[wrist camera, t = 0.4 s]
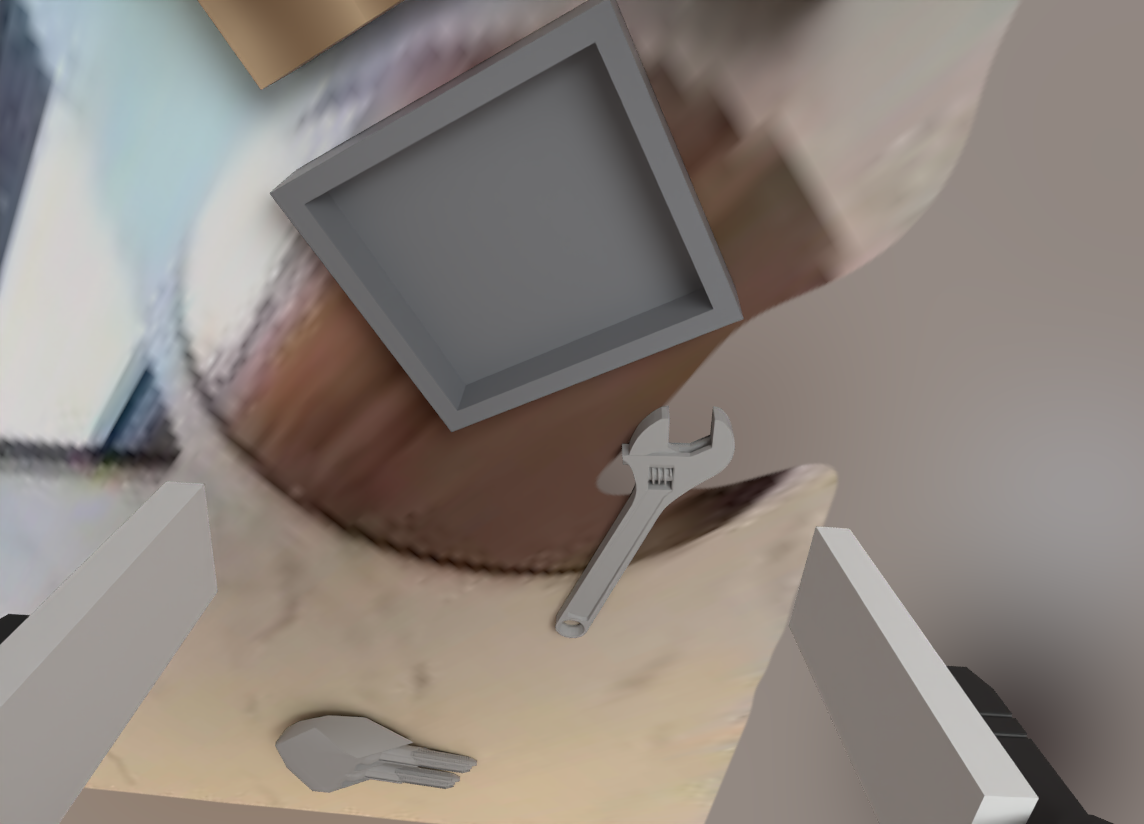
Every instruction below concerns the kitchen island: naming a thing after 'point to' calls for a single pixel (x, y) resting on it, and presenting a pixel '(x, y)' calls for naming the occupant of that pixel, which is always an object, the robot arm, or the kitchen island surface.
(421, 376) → the tray
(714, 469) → the adjustable wrench
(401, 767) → the turret
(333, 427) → the kitchen island surface
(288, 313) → the kitchen island surface
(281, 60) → the tan board with hole
